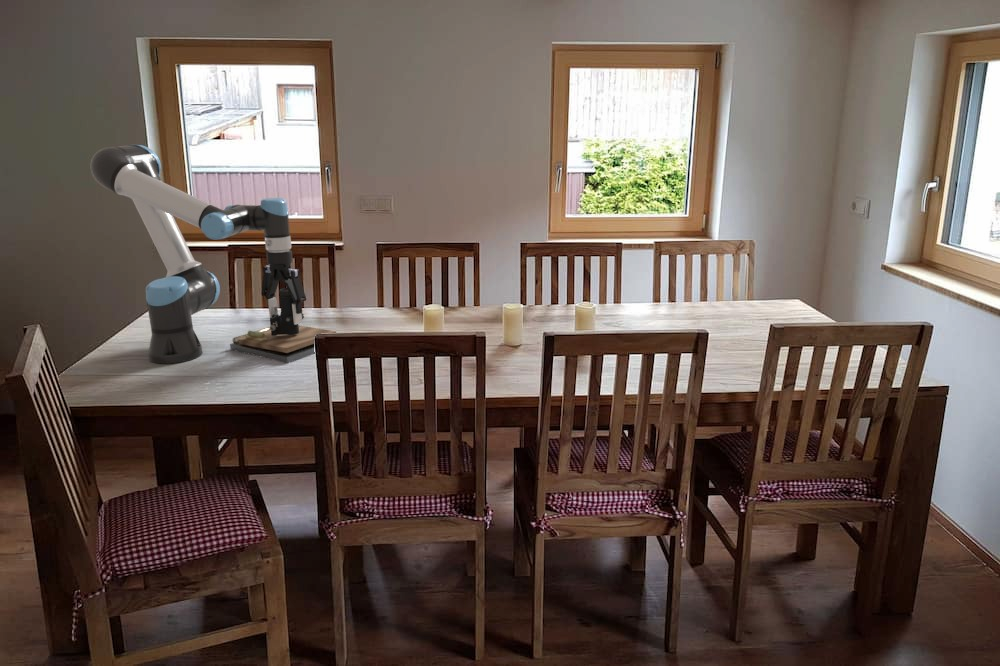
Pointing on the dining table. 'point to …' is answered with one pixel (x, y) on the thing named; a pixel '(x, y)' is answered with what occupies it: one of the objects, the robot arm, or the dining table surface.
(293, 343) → the board
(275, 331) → the scope
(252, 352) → the stand
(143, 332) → the dining table surface
